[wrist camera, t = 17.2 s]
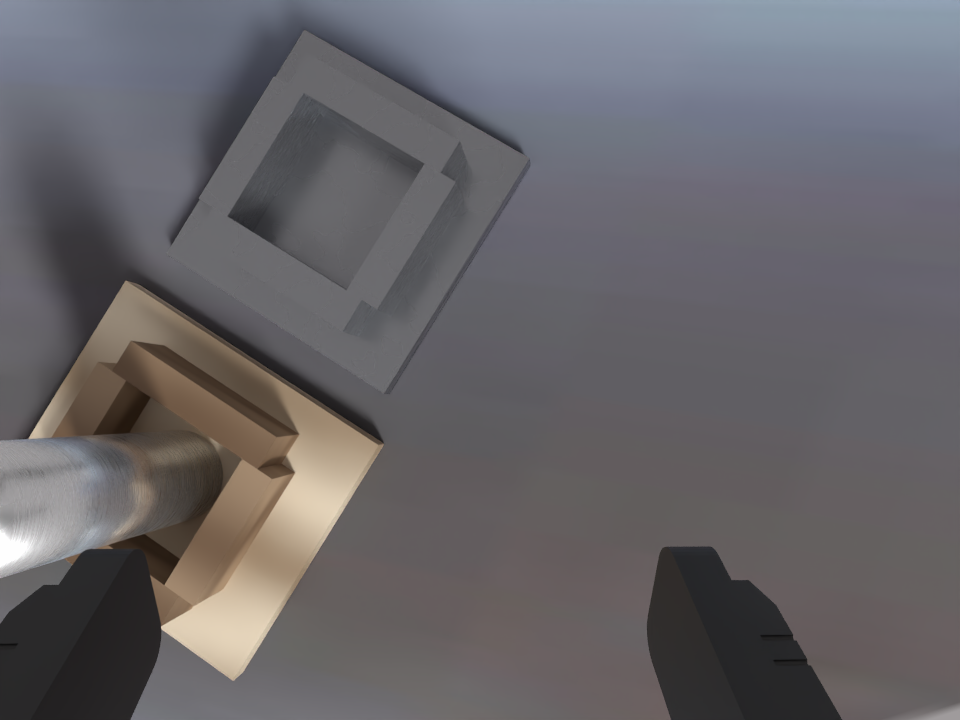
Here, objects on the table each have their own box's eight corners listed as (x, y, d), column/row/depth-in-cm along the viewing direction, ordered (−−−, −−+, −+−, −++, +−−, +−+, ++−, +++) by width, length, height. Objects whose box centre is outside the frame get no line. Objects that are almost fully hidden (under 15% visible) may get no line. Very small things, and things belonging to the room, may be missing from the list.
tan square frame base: (138, 284, 33) (89, 270, 29) (384, 443, 31) (362, 449, 27) (5, 500, 33) (-60, 512, 29) (243, 671, 31) (204, 705, 27)
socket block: (312, 41, 32) (283, -3, 29) (530, 166, 31) (527, 136, 27) (177, 258, 32) (132, 241, 29) (389, 394, 31) (368, 392, 27)
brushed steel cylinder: (169, 413, 31) (-69, 415, 19) (239, 462, 30) (41, 495, 19) (120, 488, 31) (-148, 538, 19) (191, 538, 30) (-39, 622, 19)
